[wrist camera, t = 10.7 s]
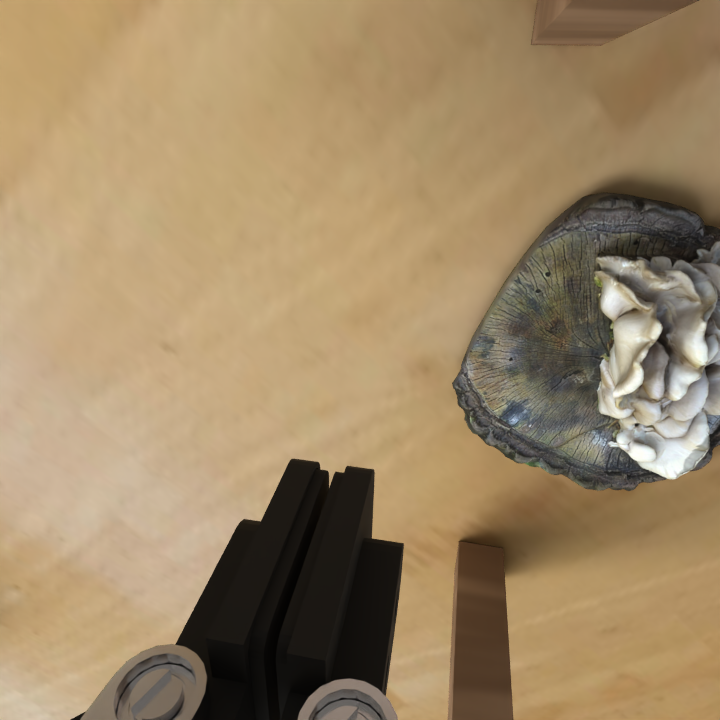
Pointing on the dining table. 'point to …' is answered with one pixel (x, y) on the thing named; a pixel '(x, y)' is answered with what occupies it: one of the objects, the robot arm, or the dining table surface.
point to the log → (604, 347)
